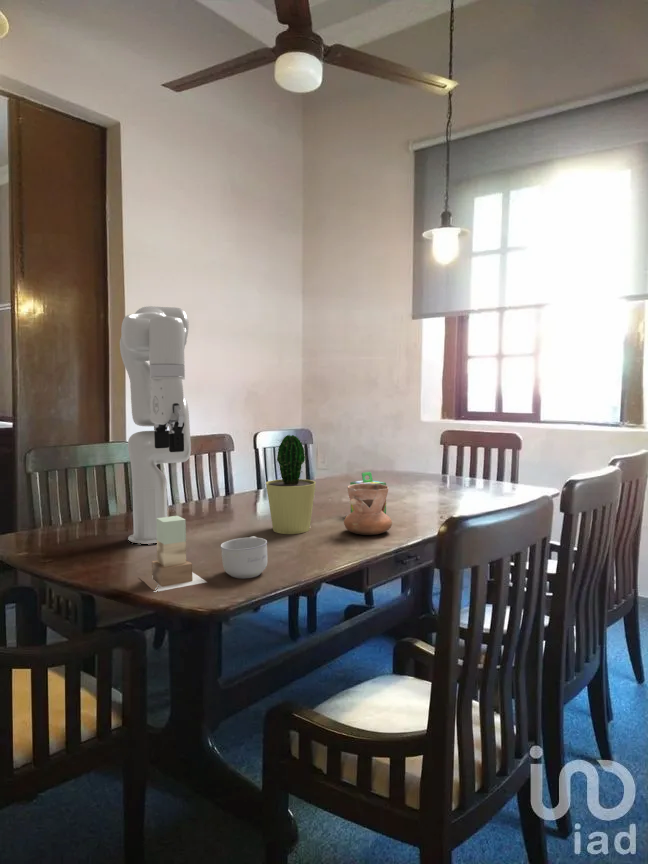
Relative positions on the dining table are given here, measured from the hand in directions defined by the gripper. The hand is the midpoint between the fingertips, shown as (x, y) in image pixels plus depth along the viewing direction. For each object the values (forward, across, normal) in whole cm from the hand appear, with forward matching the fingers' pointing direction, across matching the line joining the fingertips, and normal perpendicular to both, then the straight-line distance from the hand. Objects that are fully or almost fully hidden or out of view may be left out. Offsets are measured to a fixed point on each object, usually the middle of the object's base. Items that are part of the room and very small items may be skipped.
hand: (169, 449), depth 137 cm
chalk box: (+31, -33, +81) cm, 93 cm away
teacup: (+30, +4, +17) cm, 35 cm away
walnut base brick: (+30, 0, 0) cm, 30 cm away
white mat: (+30, 0, 0) cm, 30 cm away
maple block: (+26, 0, 0) cm, 26 cm away
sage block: (+21, 0, 0) cm, 21 cm away
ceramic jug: (+30, -13, +66) cm, 74 cm away
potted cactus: (+30, -29, +48) cm, 64 cm away
